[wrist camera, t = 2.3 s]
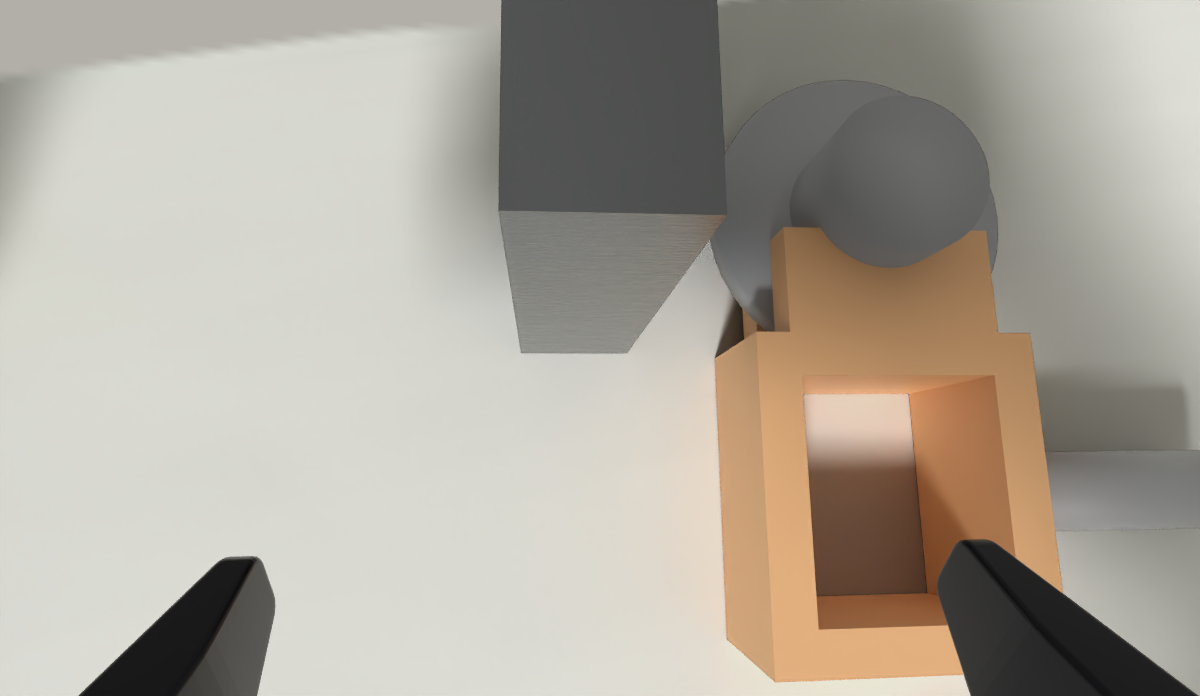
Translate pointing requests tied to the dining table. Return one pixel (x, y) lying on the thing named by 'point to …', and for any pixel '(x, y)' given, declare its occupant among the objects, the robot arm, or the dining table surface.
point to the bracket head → (887, 378)
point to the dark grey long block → (606, 162)
